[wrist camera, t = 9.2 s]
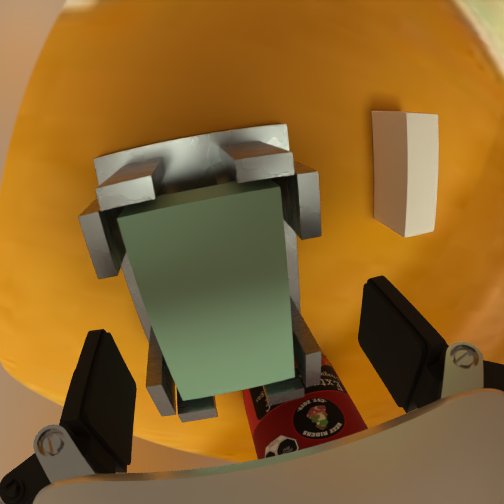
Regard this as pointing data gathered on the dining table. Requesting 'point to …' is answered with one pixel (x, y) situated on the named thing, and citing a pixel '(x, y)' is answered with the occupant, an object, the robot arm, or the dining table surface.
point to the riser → (405, 170)
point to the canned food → (302, 416)
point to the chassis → (193, 177)
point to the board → (215, 284)
